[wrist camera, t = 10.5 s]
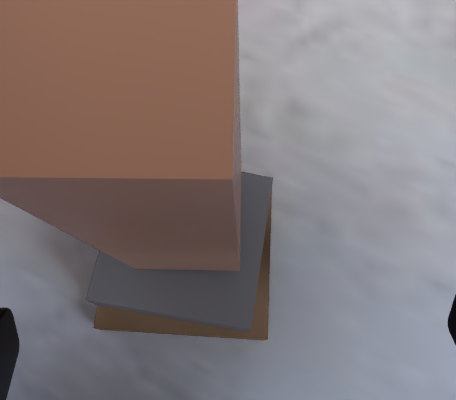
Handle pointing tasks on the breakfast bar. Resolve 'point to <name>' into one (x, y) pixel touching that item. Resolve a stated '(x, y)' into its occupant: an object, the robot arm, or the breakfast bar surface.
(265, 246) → the tower base
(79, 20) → the pillar
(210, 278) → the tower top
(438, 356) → the breakfast bar surface
